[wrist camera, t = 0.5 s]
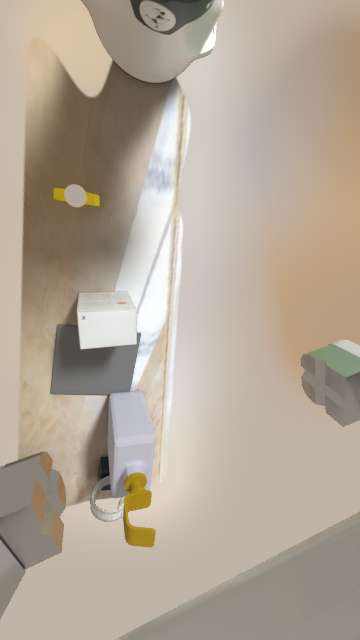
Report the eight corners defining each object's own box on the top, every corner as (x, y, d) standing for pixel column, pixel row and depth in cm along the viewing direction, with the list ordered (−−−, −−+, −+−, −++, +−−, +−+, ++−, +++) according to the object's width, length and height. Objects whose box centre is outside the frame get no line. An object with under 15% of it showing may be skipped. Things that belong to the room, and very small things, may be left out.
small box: (80, 323, 47) (78, 350, 38) (78, 291, 45) (75, 311, 36) (128, 321, 50) (137, 345, 40) (127, 290, 48) (137, 308, 38)
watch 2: (127, 475, 62) (134, 524, 52) (89, 478, 59) (88, 531, 49) (131, 454, 60) (139, 502, 50) (91, 457, 57) (92, 508, 47)
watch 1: (57, 205, 41) (48, 203, 35) (57, 185, 40) (48, 179, 34) (100, 211, 42) (98, 210, 37) (100, 191, 41) (98, 187, 36)
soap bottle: (139, 437, 59) (165, 564, 38) (107, 442, 57) (116, 578, 36) (143, 389, 55) (175, 502, 34) (108, 391, 53) (120, 514, 32)
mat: (57, 324, 46) (57, 325, 46) (140, 332, 51) (141, 333, 51) (51, 392, 50) (50, 393, 49) (128, 394, 55) (129, 395, 54)
